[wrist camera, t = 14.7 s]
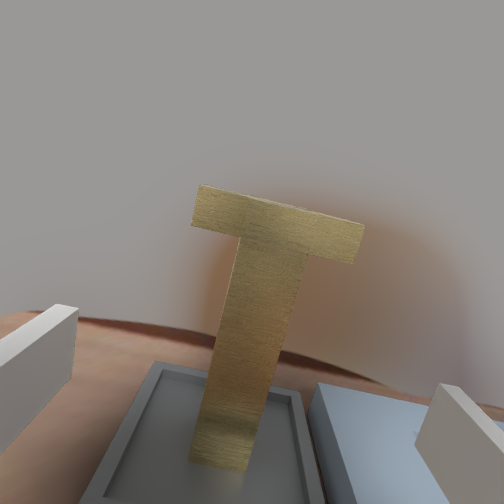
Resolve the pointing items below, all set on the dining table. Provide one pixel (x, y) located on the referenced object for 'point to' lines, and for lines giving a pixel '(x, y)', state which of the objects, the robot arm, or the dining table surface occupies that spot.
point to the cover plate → (371, 448)
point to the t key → (256, 310)
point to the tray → (179, 443)
